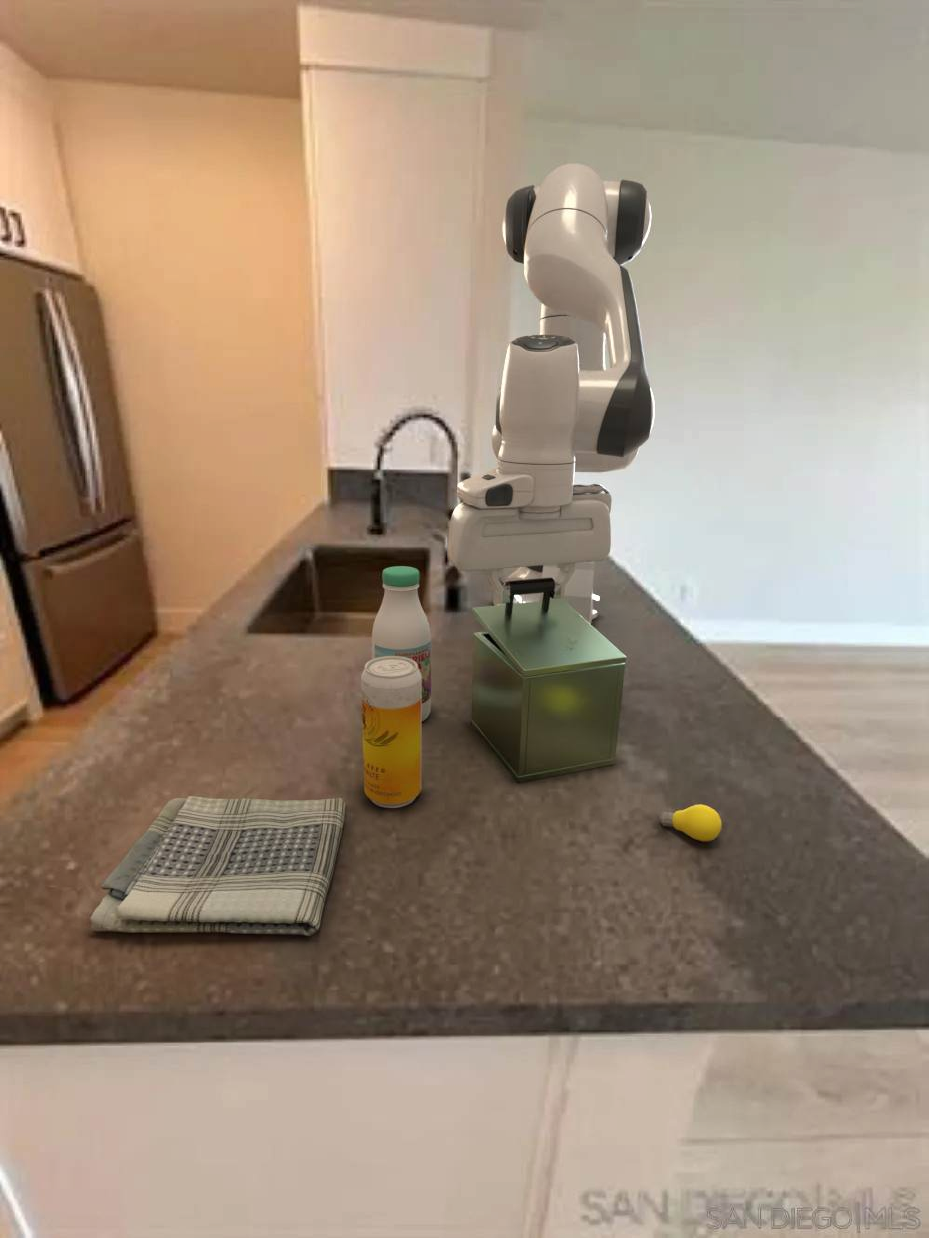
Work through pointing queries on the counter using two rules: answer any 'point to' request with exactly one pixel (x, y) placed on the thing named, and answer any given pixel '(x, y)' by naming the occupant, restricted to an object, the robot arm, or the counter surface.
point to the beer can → (392, 730)
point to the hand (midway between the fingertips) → (528, 599)
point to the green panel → (545, 632)
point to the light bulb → (695, 822)
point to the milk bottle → (404, 626)
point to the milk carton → (575, 587)
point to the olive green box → (544, 714)
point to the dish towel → (227, 868)
